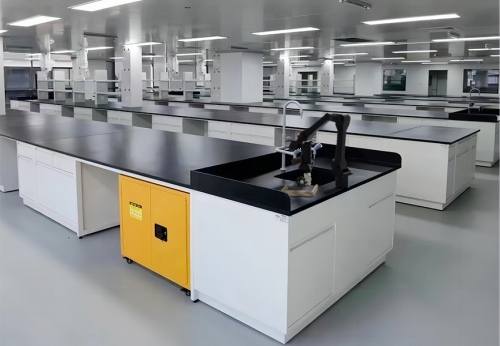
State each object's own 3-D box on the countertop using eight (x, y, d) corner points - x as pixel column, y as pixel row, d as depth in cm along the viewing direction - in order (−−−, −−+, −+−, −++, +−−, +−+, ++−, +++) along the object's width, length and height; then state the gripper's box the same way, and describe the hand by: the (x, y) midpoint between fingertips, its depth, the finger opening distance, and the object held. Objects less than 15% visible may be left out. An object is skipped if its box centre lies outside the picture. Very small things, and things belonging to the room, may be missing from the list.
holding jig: (317, 189, 230) (317, 184, 230) (313, 196, 215) (313, 191, 215) (286, 188, 235) (286, 184, 235) (280, 195, 220) (280, 190, 219)
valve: (303, 183, 247) (295, 188, 236) (303, 172, 246) (295, 176, 235) (314, 184, 244) (307, 188, 233) (314, 172, 243) (306, 176, 232)
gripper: (295, 150, 256) (295, 176, 259) (289, 154, 238) (289, 182, 241) (314, 150, 253) (314, 176, 256) (309, 155, 235) (309, 182, 238)
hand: (306, 179), depth 248 cm, fingers closed
